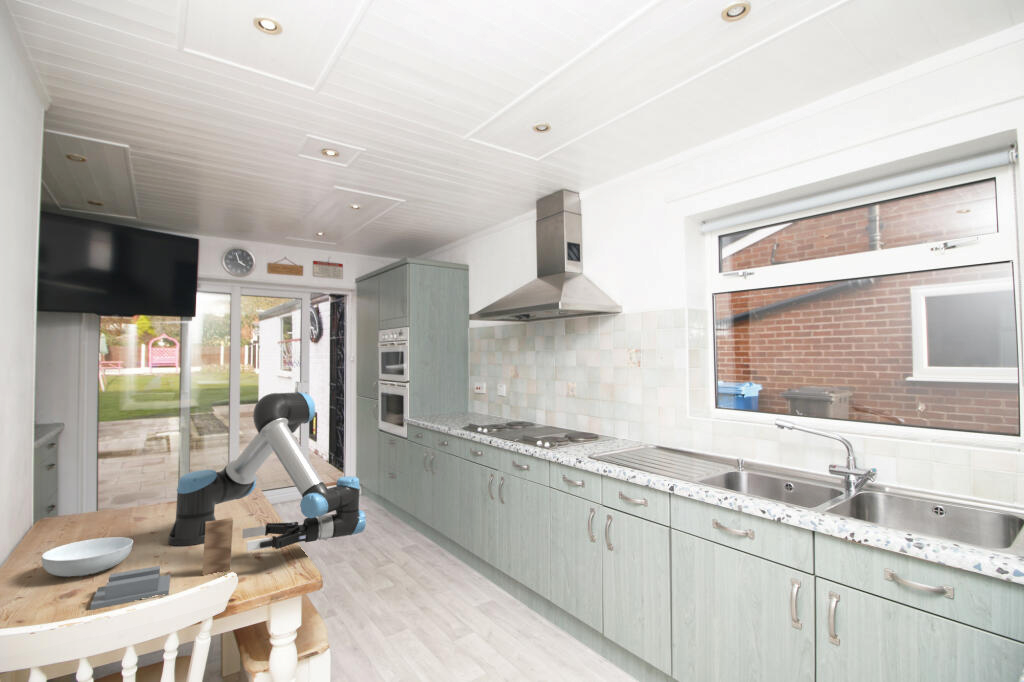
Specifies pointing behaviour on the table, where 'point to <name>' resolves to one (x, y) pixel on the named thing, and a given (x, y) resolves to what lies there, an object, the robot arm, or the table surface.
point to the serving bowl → (86, 556)
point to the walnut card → (217, 546)
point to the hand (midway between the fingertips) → (244, 539)
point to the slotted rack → (131, 587)
